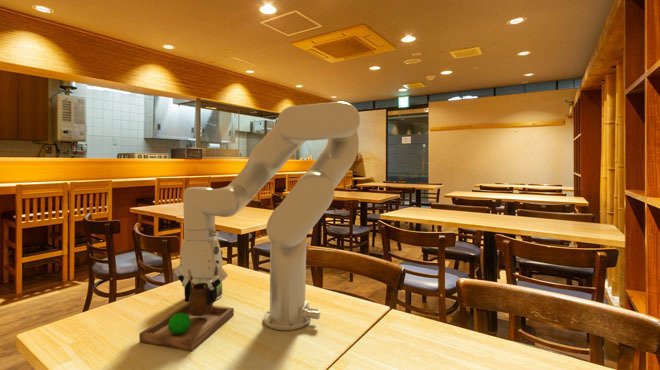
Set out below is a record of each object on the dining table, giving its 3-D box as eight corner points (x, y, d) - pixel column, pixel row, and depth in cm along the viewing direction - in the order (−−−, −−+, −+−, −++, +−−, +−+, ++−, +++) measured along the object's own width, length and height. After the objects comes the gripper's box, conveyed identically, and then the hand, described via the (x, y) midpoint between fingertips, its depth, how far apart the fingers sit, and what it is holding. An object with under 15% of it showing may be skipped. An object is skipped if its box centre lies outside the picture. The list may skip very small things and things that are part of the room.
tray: (233, 315, 92) (233, 308, 92) (191, 351, 75) (191, 342, 74) (189, 309, 95) (189, 301, 95) (139, 342, 78) (139, 333, 78)
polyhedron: (175, 327, 84) (175, 308, 83) (194, 328, 83) (194, 310, 83) (164, 337, 79) (163, 318, 78) (184, 339, 78) (183, 319, 78)
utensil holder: (215, 313, 88) (214, 269, 87) (189, 319, 84) (188, 273, 84) (210, 305, 93) (210, 262, 92) (186, 309, 90) (185, 266, 89)
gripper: (236, 233, 89) (237, 299, 90) (180, 229, 93) (182, 292, 94) (221, 239, 81) (221, 311, 83) (161, 235, 85) (162, 303, 87)
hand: (200, 300), depth 88 cm, fingers closed on utensil holder, 5 cm apart
